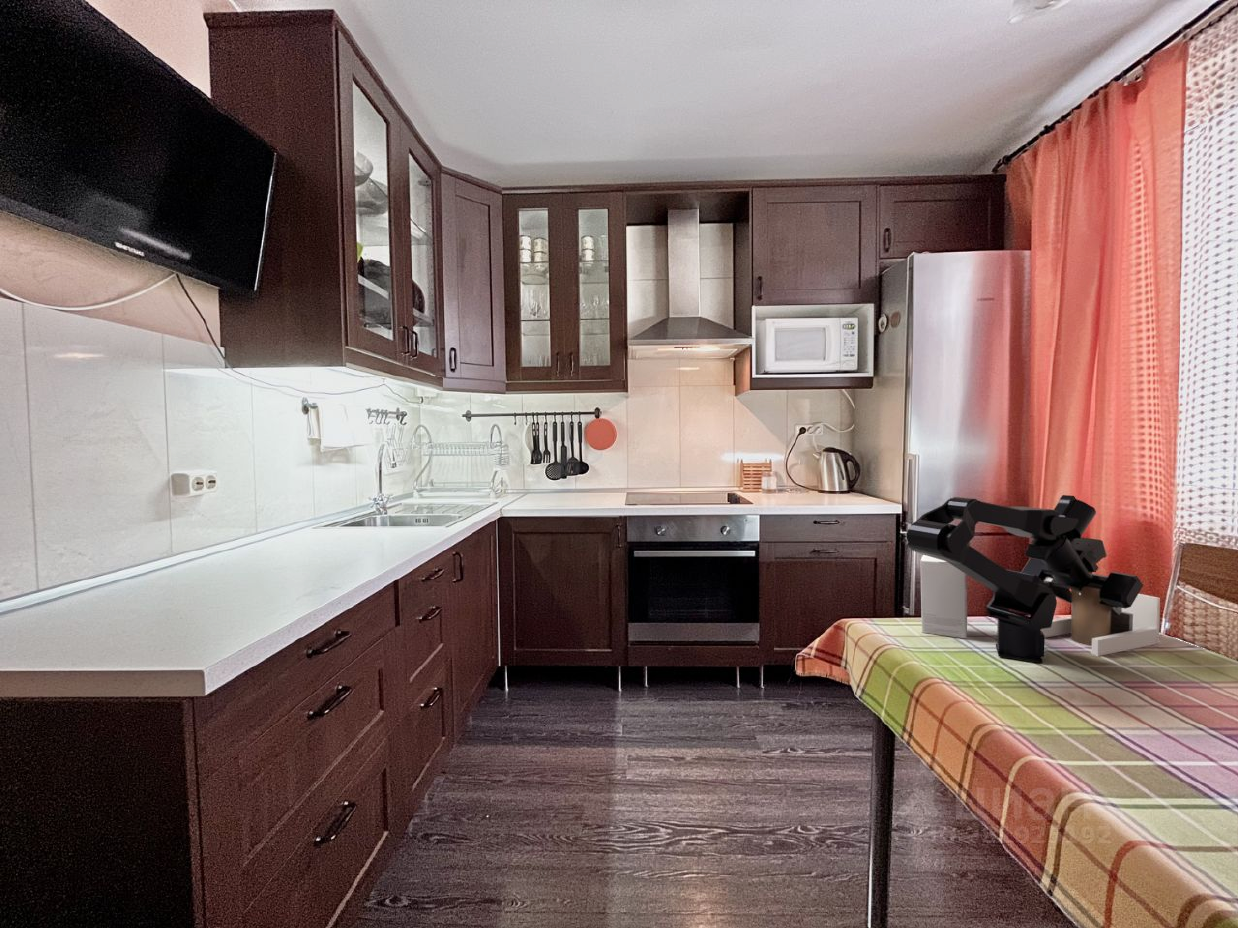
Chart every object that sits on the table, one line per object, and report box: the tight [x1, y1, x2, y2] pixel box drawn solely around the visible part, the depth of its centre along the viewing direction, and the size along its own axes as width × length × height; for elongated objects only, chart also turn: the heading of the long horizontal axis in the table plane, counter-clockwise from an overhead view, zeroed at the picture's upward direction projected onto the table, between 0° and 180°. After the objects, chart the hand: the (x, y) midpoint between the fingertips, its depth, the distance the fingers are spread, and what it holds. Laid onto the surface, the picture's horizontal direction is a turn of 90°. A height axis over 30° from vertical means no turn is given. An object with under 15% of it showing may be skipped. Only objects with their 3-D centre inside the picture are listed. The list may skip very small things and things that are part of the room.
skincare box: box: [919, 554, 968, 639], centre depth 115 cm, size 8×7×16 cm
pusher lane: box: [1041, 593, 1161, 657], centre depth 110 cm, size 18×11×9 cm, turn 109°
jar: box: [1070, 573, 1111, 647], centre depth 109 cm, size 6×6×13 cm
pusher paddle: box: [1111, 611, 1133, 635], centre depth 111 cm, size 1×8×6 cm, turn 19°
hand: (1095, 607), depth 109 cm, fingers open, 8 cm apart
